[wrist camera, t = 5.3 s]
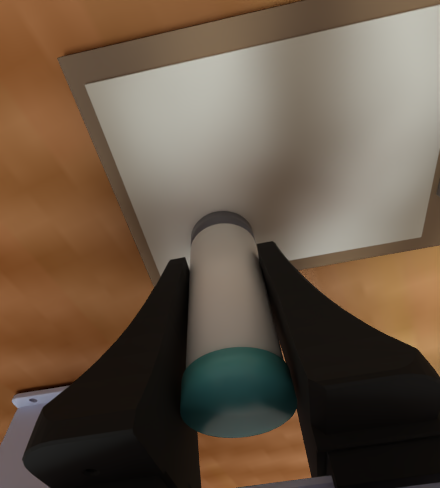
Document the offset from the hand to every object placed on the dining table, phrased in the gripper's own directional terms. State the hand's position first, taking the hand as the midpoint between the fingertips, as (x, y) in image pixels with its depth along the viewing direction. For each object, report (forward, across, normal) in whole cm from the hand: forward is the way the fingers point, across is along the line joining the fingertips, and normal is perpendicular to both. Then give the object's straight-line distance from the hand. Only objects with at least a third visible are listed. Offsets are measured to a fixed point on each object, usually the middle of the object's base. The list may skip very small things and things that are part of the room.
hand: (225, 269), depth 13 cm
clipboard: (+3, -4, -2) cm, 5 cm away
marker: (+2, 0, 0) cm, 2 cm away
